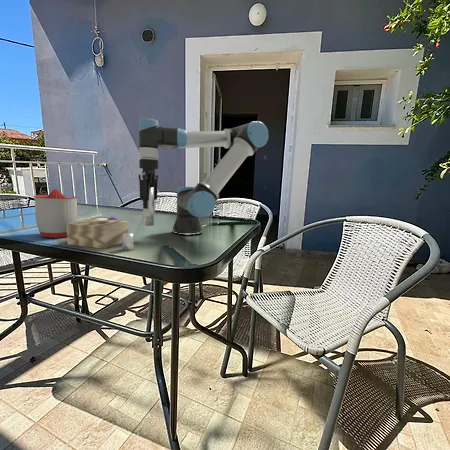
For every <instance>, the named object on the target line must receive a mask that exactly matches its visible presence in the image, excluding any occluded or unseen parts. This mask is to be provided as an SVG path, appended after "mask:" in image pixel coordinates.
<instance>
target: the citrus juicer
mask: <svg viewBox="0 0 450 450" xmlns="http://www.w3.org/2000/svg"><path fill="white" fill-rule="evenodd" d="M33 197H34V209H35V210H34V212H35V213H34V214H35V215H34V216H35V222H36V226H37V229H38V232H39V233H40V236H41V237H44V238H54V239H61V238H65V237H66V238H67V224H68V223H73V222H78V196H76V195H74V196H73V197H66V195H64V194H63V193H62V192H61V191H60V190H59V189H58V188H54V189H53V190H52V191H50V192H49V193H48V194H35V195H33Z"/></svg>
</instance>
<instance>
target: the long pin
mask: <svg viewBox="0 0 450 450" xmlns="http://www.w3.org/2000/svg"><path fill="white" fill-rule="evenodd" d="M148 201H150V216H143V225H144V226H146V227H153V226H154V225H155V215H154V187H150V191H149V200H148Z"/></svg>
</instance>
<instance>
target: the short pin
mask: <svg viewBox="0 0 450 450" xmlns="http://www.w3.org/2000/svg"><path fill="white" fill-rule="evenodd" d="M121 243H122V245H121V246H122V251H124V252H131V251H135V233H132V232H128V233H123V234H122V242H121Z"/></svg>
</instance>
